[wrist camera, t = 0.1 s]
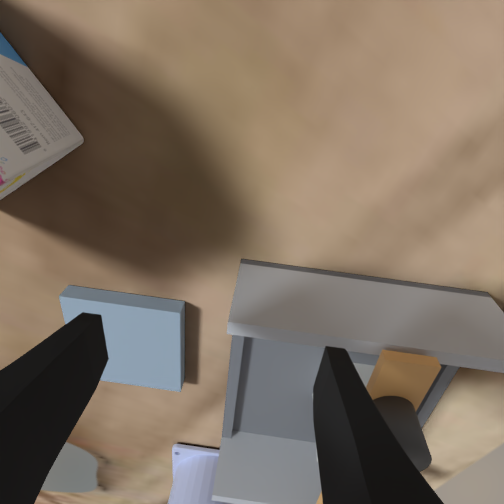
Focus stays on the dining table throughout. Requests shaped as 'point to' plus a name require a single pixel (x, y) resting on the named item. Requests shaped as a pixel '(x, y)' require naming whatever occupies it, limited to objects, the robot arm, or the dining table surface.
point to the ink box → (28, 124)
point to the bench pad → (135, 335)
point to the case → (310, 355)
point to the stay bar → (403, 399)
